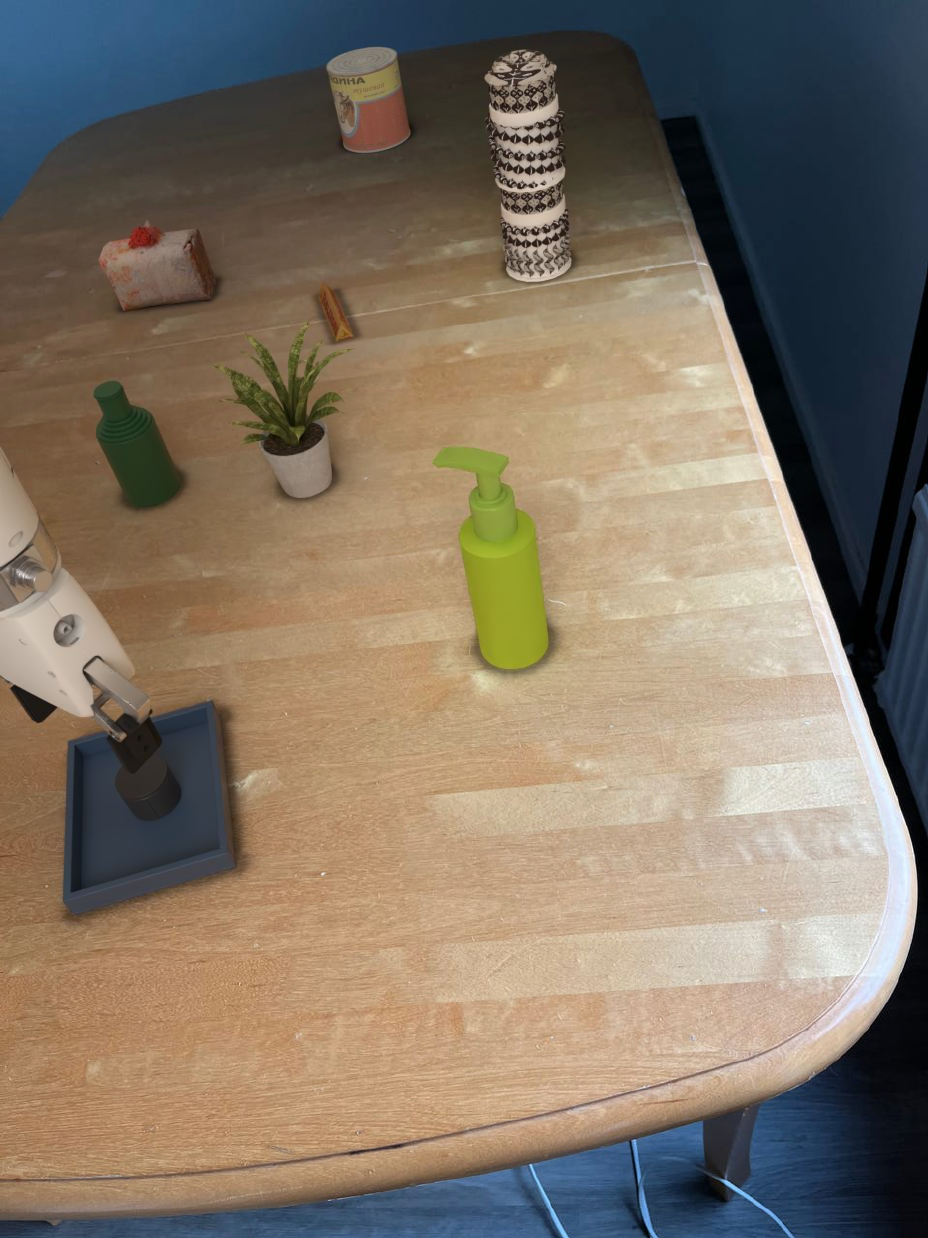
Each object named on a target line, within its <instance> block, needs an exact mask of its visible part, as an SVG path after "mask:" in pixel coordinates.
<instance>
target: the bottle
mask: <svg viewBox="0 0 928 1238" xmlns="http://www.w3.org/2000/svg"><path fill="white" fill-rule="evenodd" d="M92 394H93V398H94V399H95V400H96V402H97V404H98V406H99V409H100V411H101V413H102V416H101V418H100V420H99V421H98V423H97V425H96V426H95V427H96V428H95V438H96V440H97V442H98V444H99V446H100V448H101V450H102V453H103V454H104V456H105V458H106V460H107V463H108V464H109V466H110V468H111V470H112V472H113V475H114V476H115V478H116V480H117V482H118V485H119V486H120V489H121V490H122V493H123V494H124V497H125V499H126V501H127V502H128V503H129V504H130V505H131V506H134V507H137V508H150V507H154V506H158V505H160V504H163V503H165V502H167V501H169V500H170V499H171V498H173V497H174V496H175V495H176V494H177V493H178V492H179V490H180V489H181V485H182V480H181V476H180V475H179V472H178V470H177V468H176V465H175V463H174V460H173V459H172V456H171V454H170V451H169V449H168V447H167V445H166V443H165V441H164V438H163V435H162V434H161V431H160V429H159V426H158V424H157V421H156V420H155V417H154V415H153V414H152V413H151V412H150V411H149V410H148V409H147V408H144V407H140V406H137V405H135V404H131V403H130V401H129V398H128V396H127V395H126V391H125V388H124V386H123V384H122V383H121V382H120V381H117V380H108V381H104V382H102V383H100V384H99V385H97V386H96V387H95V388H94V390H93V393H92Z"/></svg>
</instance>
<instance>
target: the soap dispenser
mask: <svg viewBox="0 0 928 1238" xmlns="http://www.w3.org/2000/svg"><path fill="white" fill-rule="evenodd" d="M509 463H510V460H509V456H508V455H504V454H501V453H497V452H493V451H489V450H486V449H480V448H476V447H471V446H470V447H469V446H444V447H442V448H441V449H440V451H439V452H438V453H437V455H436V456H435V458H434V459H433V460H432V464H433V466H435V467H436V468H438V469H456V470H460V471H465V472H469V473H474V474H475V479H476V484H477V486H475V487H474V488H473V489H471V491H470V493H469V495H468V504H469V510H470V511H469V512H470V515H469V516H468V517H466V519H465V520H464V521H463V523H462V524H461V526H460V527H459V530H458V542H459V545H460V546H459V547H460V552H461V557H462V562H463V569H464V572H465V573H464V574H465V578H466V583H467V588H468V593H469V598H470V603H471V608H472V615H473V618H474V624H475V629H476V633H477V634H476V635H477V639H478V645H479V649H480V653H481V655H482V657H483V658H484V660H485V661H486V662H488V663H489V664H490V665H492V666H493V667H496V668H498V669H503V670H520V669H523V668H528V667H530V666H532V665H534V664H535V663H537V662H538V661H540V660H541V659H542V657H543V656H544V655H545V654H546V652H547V650H548V648H549V644H550V641H549V640H550V639H549V631H548V623H547V616H546V615H547V614H546V605H545V598H544V589H543V582H542V573H541V564H540V556H539V549H538V539H537V532H536V531H537V530H536V524H535V522H534V520H533V518H532V517H531V516H530V515H529V514H528V513H527V512H525V511H524V510H522V509H520V508H517V506H516V500H515V499H516V498H515V492H514V490H513V488H512V487H511V486H510V485H509V484H507V483H505V482H502V481H501V475H502V474H503V473H504V471H505V470H506V468H507V466H508V465H509Z"/></svg>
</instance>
